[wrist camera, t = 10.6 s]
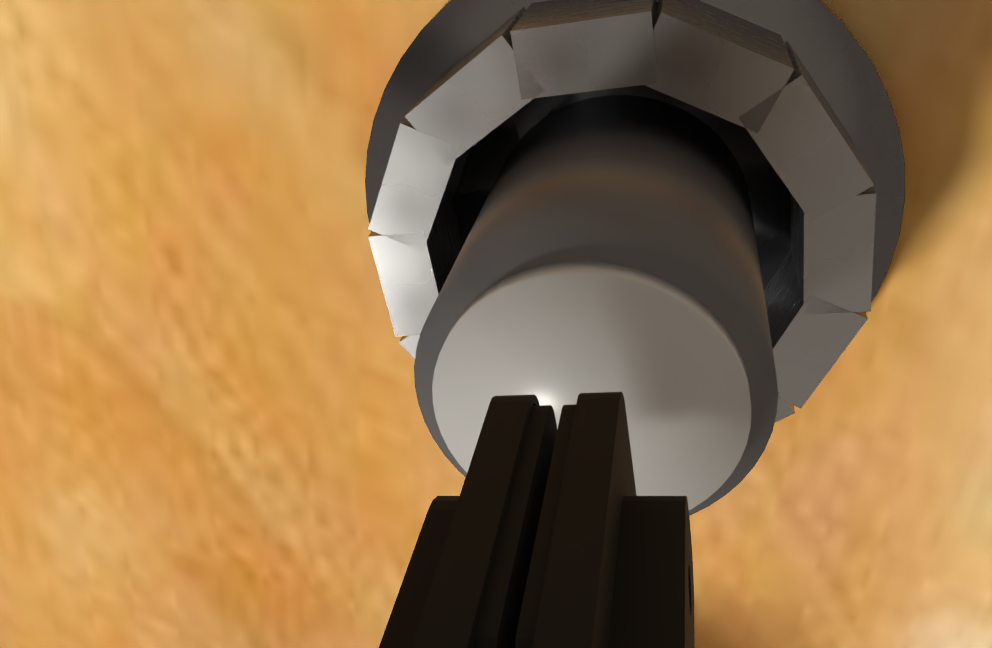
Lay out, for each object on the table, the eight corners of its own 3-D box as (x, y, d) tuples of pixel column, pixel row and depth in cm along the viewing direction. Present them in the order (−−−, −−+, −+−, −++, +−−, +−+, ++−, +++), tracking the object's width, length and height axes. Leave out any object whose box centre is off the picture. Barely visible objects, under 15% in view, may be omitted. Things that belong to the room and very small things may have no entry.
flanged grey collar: (884, 409, 21) (912, 494, 18) (431, 421, 23) (400, 495, 21) (918, -123, 15) (965, -107, 12) (314, -21, 18) (253, 10, 15)
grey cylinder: (753, 322, 19) (782, 550, 14) (515, 335, 21) (447, 545, 15) (746, 78, 17) (778, 231, 11) (472, 111, 18) (368, 263, 12)
